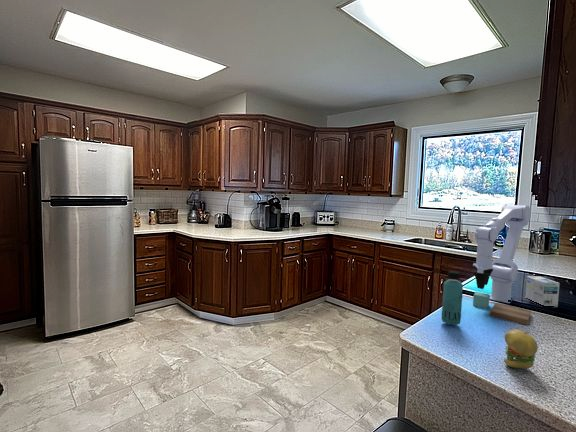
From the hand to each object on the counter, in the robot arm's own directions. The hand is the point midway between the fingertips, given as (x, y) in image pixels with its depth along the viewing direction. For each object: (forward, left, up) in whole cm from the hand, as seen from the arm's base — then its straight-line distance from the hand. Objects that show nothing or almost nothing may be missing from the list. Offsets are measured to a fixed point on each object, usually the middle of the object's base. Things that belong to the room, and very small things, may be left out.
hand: (482, 286), depth 136 cm
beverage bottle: (+31, -4, -9) cm, 32 cm away
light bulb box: (-23, +19, -9) cm, 31 cm away
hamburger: (+49, +18, -9) cm, 53 cm away
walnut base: (+5, +11, -8) cm, 15 cm away
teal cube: (0, 0, -8) cm, 9 cm away
